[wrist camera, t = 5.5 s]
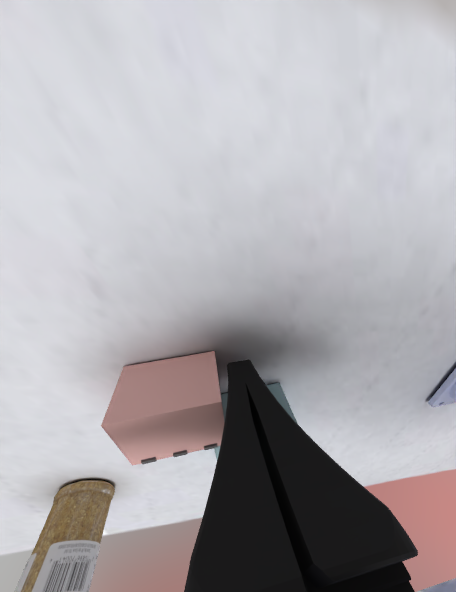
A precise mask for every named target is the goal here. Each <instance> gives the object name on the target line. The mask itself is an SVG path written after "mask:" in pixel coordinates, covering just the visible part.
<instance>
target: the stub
mask: <svg viewBox="0 0 456 592" xmlns="http://www.w3.org/2000/svg"><path fill="white" fill-rule="evenodd" d="M224 423H225V421H224V414H223V407H222V400H221V392H220V385H219V379H218V372H217V365H216V358H215V351H212V352H206V353H200V354H194V355H189V356H183V357H177V358H171V359H165V360H159V361H154V362H148V363H142V364H136V365H130V366H124V367H123V370H122V372H121V375H120V378H119V380H118V383H117V385H116V388H115V391H114V393H113V396H112V399H111V401H110V404H109V406H108V409H107V412H106V414H105V417H104V420H103V422H102V425H101V426H102V428H103V429H104V430H105V431H106V433H107V434H108V435H109V436H110V438H111V439H112V440H113V441H114V443H115V444H116V445H117V446H118V448H119V449H120V450H121V452H122V453H123V454H124V455H125V457H126V458H127V459H128V460H129V462H130V463H131V464H132V465H137V464H141V463H142V464H146V463H150V462H155V461H156V460H159V459H163V458H168V457H172V456H174V457H177V456H181V455H186V454H187V453H190V452H194V451H199V450H203V449H204V450H208V449H212V448H217V447H218V446H221V440H222V435H223V429H224Z"/></svg>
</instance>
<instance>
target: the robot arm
mask: <svg viewBox="0 0 456 592" xmlns="http://www.w3.org/2000/svg"><path fill="white" fill-rule="evenodd" d="M227 370H228V398H227V408H226V416H225V423H224V429H223V435H222V440H221V446H220V451H219V455H218V460H217V464H216V469H215V473H214V477H213V481H212V485H211V489H210V493H209V497H208V501H207V504H206V508H205V512H204V515H203V519H202V522H201V526H200V529H199V533H198V536H197V539H196V543H195V546H194V549H193V553H192V556H191V560H190V566H189V571H188V576H187V581H186V586H185V590H184V592H414V590H413V588H412V586H411V584H410V582H409V580H411V577H410V575H409V573H408V571H407V570H406V567H405V566H404V564H403V563H402V561H405V560H407V559H410V558H413V557H415V556H417V555H418V552H417V549H416V548H415V546H414V544H413V543H412V541H411V539H410V538H409V536H408V535H407V533H406V531H405V530H404V529H403V527H402V526H401V524H400V523H399V522H398V520H397V519H396V518H395V516H394V515H393V514H392V512H391V511H390V510H389V508H388V507H387V506H386V505H384V504H383V503H382V502H381V501H380V500H378V499H377V498H376V497H375V496H374V495H372V494H371V493H370V492H369V491H368V490H366V489H365V488H364V487H363V486H362V485H361V484H359V483H358V482H357V481H356V480H355V479H354V478H353V477H351V476H350V475H349V474H348V473H347V472H346V471H345V470H344V469H342V468H341V467H340V466H339V465H338V464H337V463H336V462H335V461H334V460H333V459H332V458H331V457H330V456H329V455H328V454H326V453H325V452H324V451H323V450H322V449H321V448H320V447H319V446H318V445H317V444H316V443H315V442H314V441H313V440H312V439H311V438H310V437H309V436H308V435H307V434H306V433H305V432H304V431H303V430H302V428H301V427H300V426H299V425H298V424H297V423H296V422H295V421H294V420H293V419H292V417H291V416H290V415H289V414H288V413H287V412H286V410H285V409H284V408H283V407H282V406H281V404H280V403H279V402H278V401H277V399H276V398H275V397H274V395H273V394H272V393H271V391H270V390H269V389H268V387H267V386H266V385H265V383H264V382H263V380H262V379H261V377H260V376H259V374H258V373H257V371H256V370H255V368H254V366H253V364H252V363H251V361H250V360H243V361H238V362H232V363H228V364H227ZM454 402H456V368H455V370H454V371H453V372H452V373H451V375H450V376H449V377H448V378H447V379H446V381H445V382H444V383H443V384H442V386H441V387H440V388H439V389H438V391H437V392H436V393H435V394H434V396H433V397H432V398H431V399H430V400H429V402H428V404H429V405H430V406H431V407H437V406H441V405H446V404H450V403H454ZM418 592H456V578H455V579H452V580H449V581H447V582H443V583H441V584H437V585H435V586H432V587H429V588H426V589H423V590H421V591H418Z"/></svg>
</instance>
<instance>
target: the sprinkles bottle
mask: <svg viewBox="0 0 456 592" xmlns="http://www.w3.org/2000/svg"><path fill="white" fill-rule="evenodd" d="M114 492H115V489H114V487H113V485H111V484H110V483H108V482H105V481H102V480H84V481H79V482H76V483H72V484H69V485H67V486H65V487H63V488H62V489H61V490H60V491H59V492H58V493H57V494H56V495H55V497H54V502H53V506H52V509H51V511H50V513H49V515H48V518H47V520H46V523H45V525H44V527H43V530H42V532H41V534H40V536H39V539H38V541H37V544H36V546H35V548H34V550H33V552H32V554H31V556H30V558H29V559H28V562H27V564H26V566H25V568H24V571H23V573H22V575H21V578H20V580H19V582H18V584H17V587H16V589H15V591H14V592H89V588H90V585H91V581H92V577H93V573H94V569H95V565H96V561H97V557H98V553H99V549H100V542H101V538H102V534H103V530H104V526H105V522H106V518H107V514H108V511H109V506H110V503H111V500H112V498H113V495H114Z"/></svg>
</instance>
